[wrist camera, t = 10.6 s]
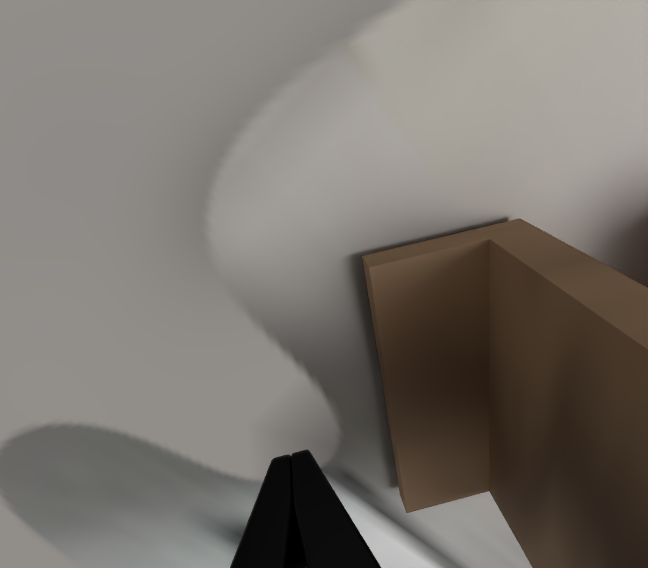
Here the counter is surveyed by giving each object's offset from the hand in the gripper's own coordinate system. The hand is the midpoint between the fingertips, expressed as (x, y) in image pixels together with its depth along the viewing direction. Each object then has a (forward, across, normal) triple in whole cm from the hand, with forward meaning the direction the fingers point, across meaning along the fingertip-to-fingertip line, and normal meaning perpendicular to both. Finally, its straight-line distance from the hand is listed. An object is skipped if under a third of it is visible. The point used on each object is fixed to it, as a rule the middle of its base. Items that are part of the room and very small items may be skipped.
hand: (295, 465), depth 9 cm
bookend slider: (+1, -4, 0) cm, 4 cm away
